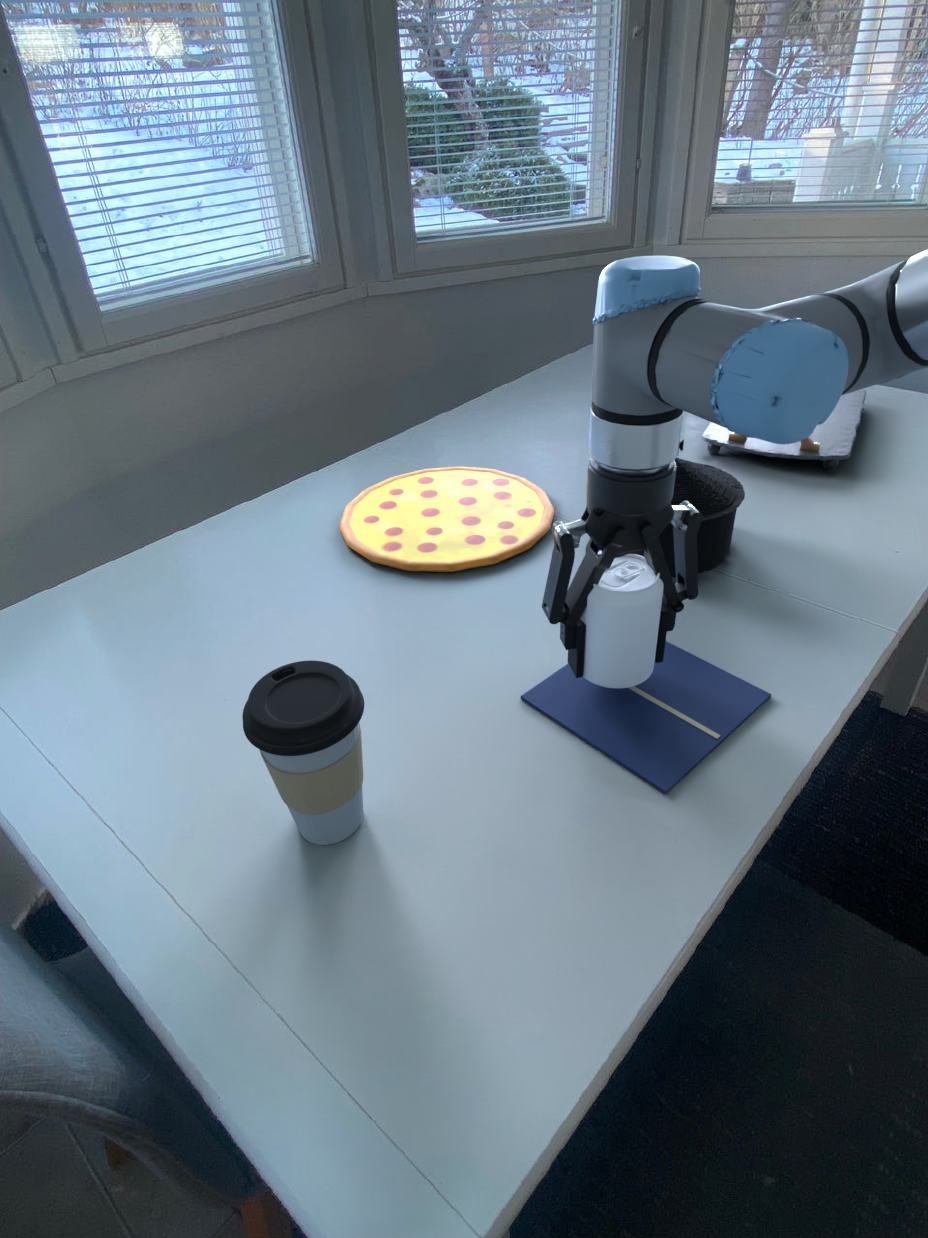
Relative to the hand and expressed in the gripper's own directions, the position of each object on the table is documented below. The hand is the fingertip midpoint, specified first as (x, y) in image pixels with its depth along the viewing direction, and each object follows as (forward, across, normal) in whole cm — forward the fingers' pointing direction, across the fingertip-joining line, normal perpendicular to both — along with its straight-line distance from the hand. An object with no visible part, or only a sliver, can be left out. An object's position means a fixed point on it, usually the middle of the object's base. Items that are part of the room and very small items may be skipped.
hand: (615, 661), depth 76 cm
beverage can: (+1, 0, 0) cm, 1 cm away
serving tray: (+3, -54, -56) cm, 78 cm away
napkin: (+3, -2, +4) cm, 5 cm away
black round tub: (+3, -17, -25) cm, 30 cm away
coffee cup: (+3, +31, +11) cm, 33 cm away
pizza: (+3, +10, -42) cm, 43 cm away
